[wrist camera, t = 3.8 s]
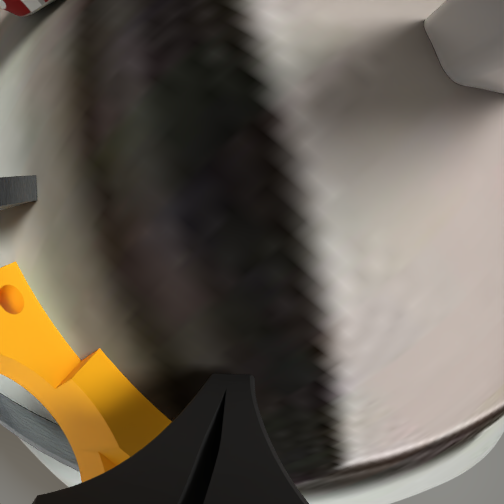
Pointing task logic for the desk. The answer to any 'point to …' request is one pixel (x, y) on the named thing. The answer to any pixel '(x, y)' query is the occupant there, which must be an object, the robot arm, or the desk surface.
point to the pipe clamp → (72, 383)
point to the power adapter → (470, 42)
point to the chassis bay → (3, 409)
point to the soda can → (24, 6)
